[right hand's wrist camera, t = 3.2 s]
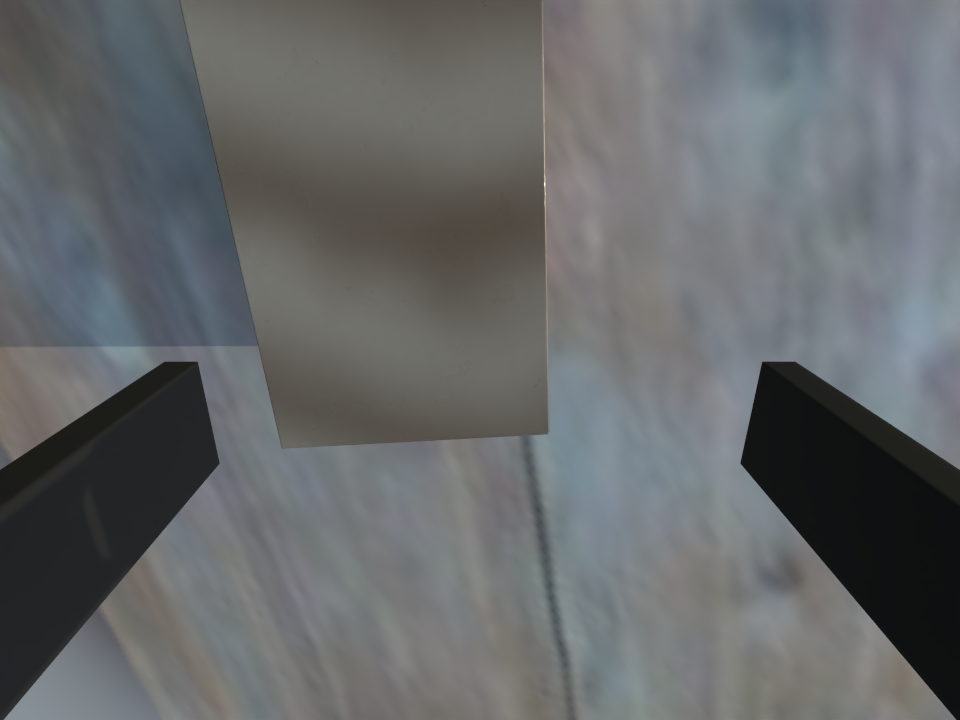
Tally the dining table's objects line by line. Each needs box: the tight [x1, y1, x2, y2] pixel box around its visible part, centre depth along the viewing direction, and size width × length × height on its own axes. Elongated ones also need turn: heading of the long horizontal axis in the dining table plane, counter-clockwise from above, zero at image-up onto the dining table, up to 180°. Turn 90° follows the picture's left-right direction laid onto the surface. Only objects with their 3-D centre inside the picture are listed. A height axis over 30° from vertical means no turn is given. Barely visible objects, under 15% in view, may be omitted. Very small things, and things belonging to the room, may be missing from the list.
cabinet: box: [179, 0, 549, 448], centre depth 22 cm, size 18×10×11 cm, turn 3°
